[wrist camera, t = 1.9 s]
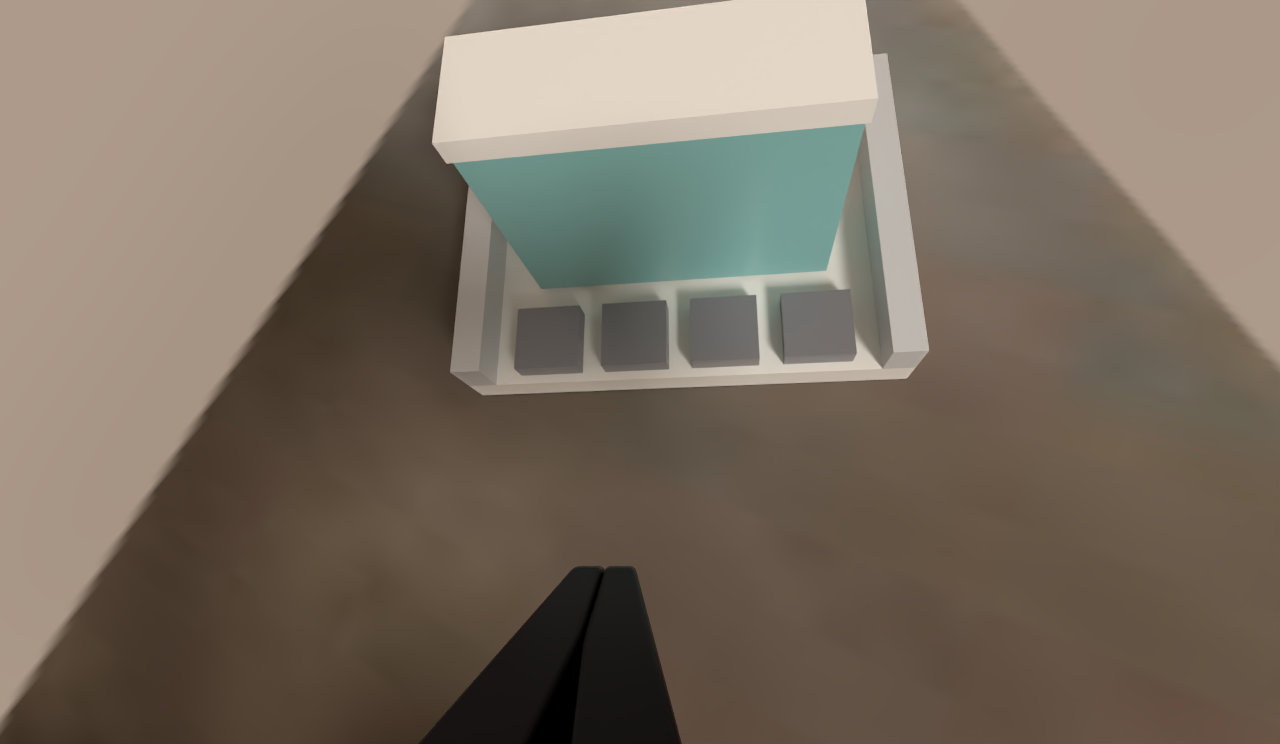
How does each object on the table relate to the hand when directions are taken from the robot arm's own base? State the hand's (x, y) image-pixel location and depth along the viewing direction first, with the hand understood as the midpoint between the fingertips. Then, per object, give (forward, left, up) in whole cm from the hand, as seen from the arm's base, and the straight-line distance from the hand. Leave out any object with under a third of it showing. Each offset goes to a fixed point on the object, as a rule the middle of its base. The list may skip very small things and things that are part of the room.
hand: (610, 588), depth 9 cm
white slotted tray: (+9, -7, -13) cm, 17 cm away
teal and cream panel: (+9, -7, -11) cm, 16 cm away
